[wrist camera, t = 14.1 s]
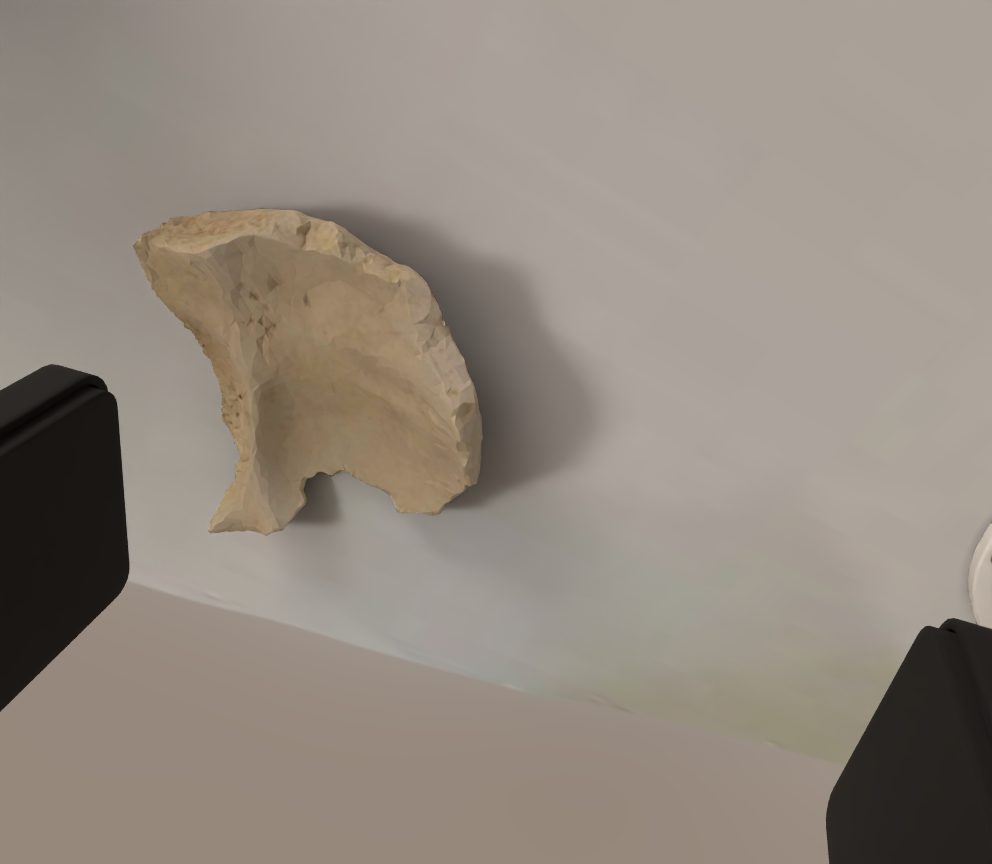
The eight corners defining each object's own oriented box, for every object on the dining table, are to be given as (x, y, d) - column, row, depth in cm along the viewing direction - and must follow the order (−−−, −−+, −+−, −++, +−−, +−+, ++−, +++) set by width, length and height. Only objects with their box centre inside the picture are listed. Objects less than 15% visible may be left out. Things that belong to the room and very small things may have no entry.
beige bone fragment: (510, 538, 45) (484, 593, 41) (252, 499, 49) (208, 546, 45) (493, 203, 36) (458, 237, 32) (179, 191, 40) (117, 220, 36)
